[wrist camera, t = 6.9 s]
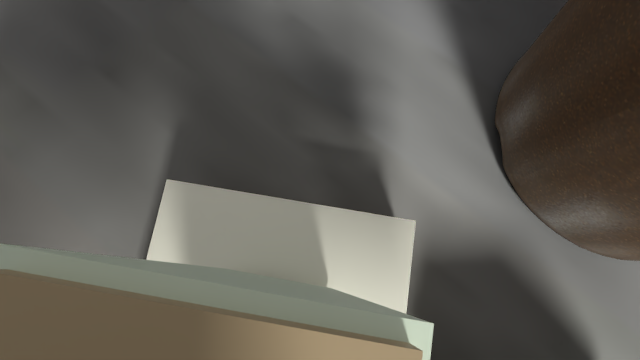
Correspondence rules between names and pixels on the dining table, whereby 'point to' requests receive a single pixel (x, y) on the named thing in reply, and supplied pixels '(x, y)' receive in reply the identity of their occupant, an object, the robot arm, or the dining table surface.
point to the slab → (286, 241)
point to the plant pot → (579, 126)
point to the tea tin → (186, 313)
